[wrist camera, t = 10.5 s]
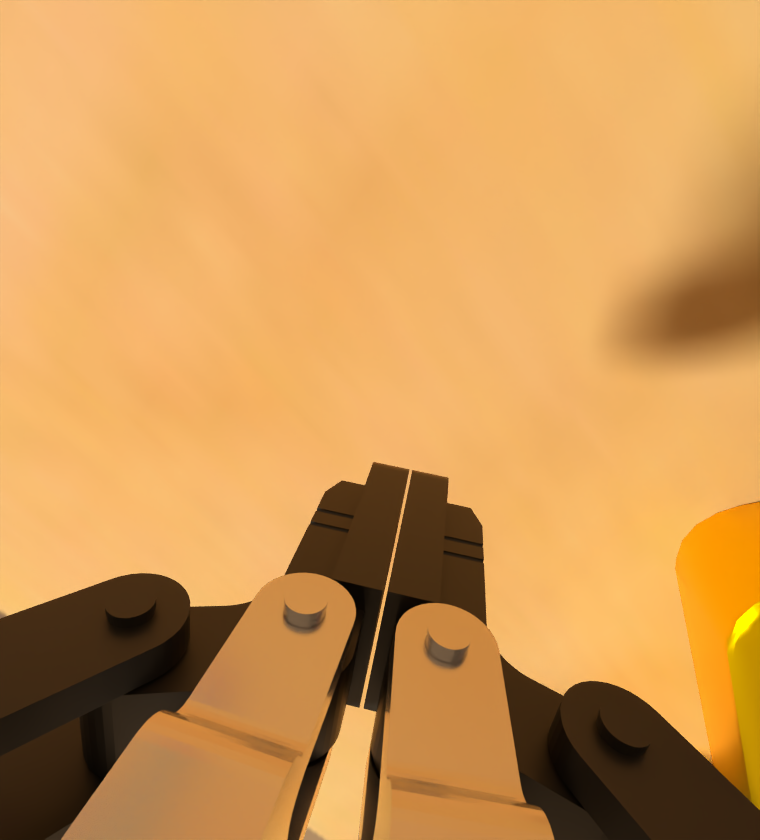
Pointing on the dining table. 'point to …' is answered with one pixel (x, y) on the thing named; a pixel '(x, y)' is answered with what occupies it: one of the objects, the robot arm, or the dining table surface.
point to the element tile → (726, 637)
